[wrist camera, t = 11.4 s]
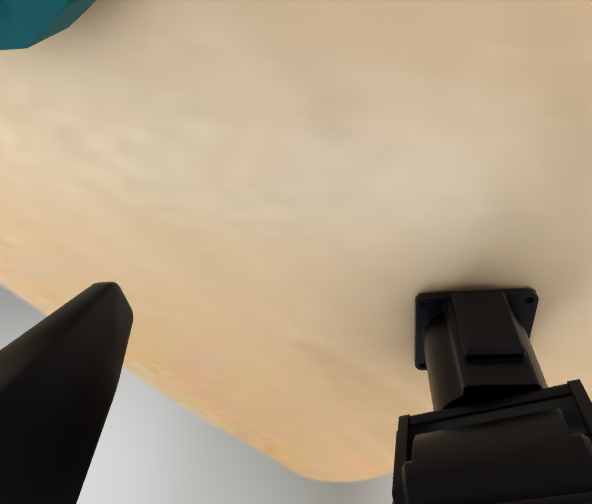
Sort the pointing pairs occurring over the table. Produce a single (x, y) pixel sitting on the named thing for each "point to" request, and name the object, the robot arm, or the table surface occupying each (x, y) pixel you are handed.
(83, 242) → the table surface
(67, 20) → the ring
